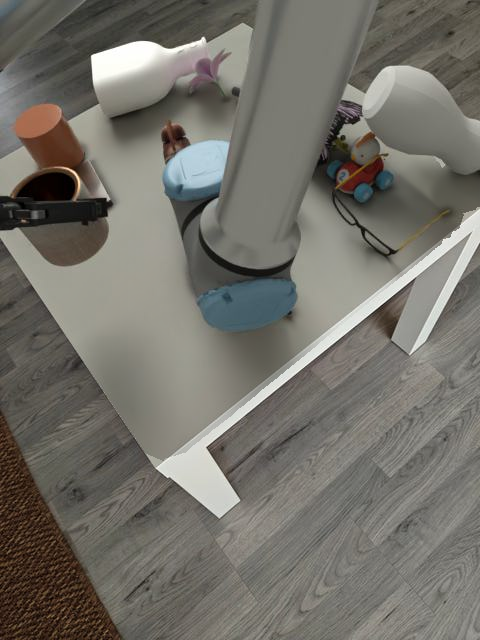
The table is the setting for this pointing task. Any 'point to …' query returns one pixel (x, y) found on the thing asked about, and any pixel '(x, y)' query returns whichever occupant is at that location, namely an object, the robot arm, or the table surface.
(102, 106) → the bottle
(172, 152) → the alarm clock
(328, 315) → the table surface
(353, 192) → the toy car
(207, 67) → the lily
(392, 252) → the eyeglasses
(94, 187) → the brown wooden square plate
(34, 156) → the copper solid cylinder
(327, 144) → the decorative flower
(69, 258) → the planter
